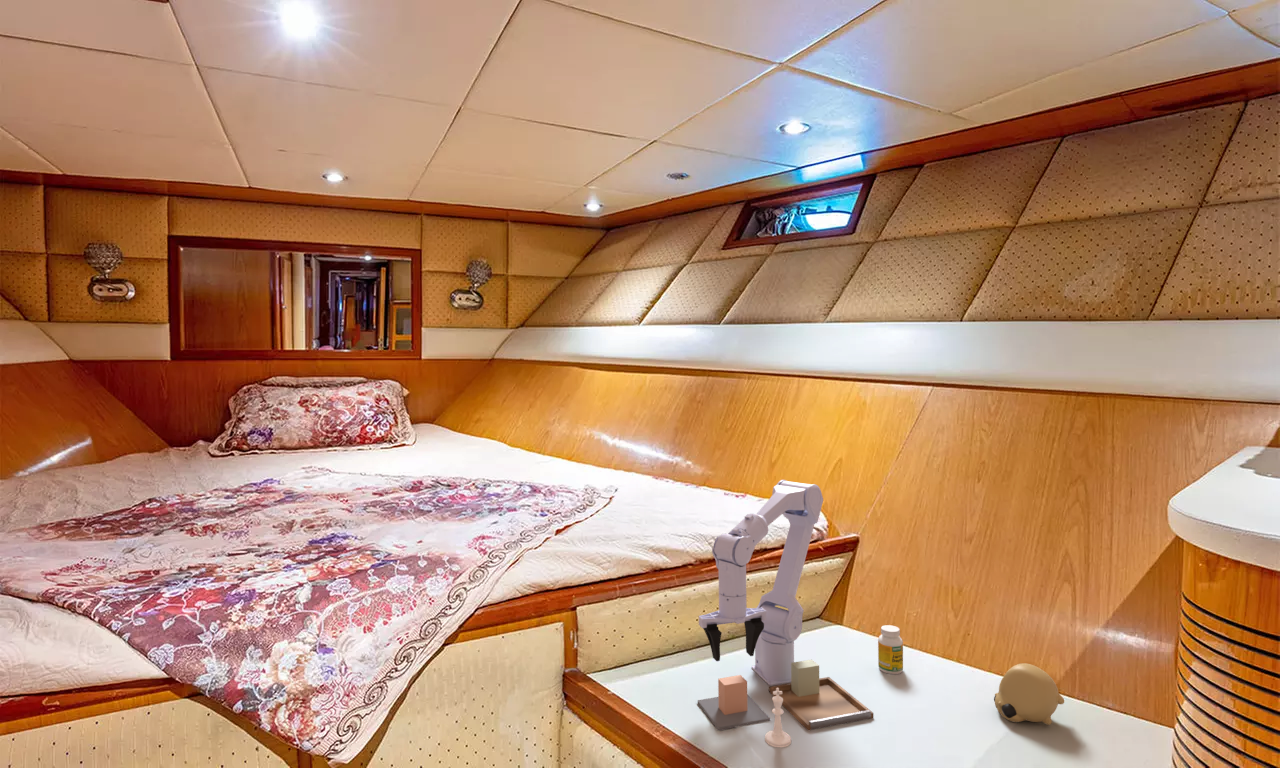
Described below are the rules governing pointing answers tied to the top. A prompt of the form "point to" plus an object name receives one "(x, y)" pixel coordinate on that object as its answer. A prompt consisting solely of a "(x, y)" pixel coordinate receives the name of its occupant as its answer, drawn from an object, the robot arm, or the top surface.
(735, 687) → the salmon pink box
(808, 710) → the wooden serving tray
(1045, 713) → the tan animal figurine
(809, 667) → the khaki rectangular block
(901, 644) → the supplement bottle
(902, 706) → the top surface
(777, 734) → the chess piece
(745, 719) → the mat
